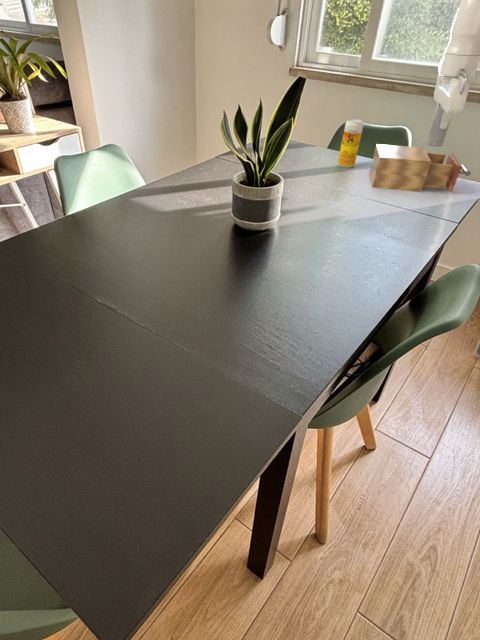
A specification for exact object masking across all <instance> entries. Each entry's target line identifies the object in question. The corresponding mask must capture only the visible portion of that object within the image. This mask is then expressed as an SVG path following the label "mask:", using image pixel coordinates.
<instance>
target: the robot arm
mask: <svg viewBox="0 0 480 640" xmlns="http://www.w3.org/2000/svg"><path fill="white" fill-rule="evenodd" d="M479 64H480V0H461V1H460V3H459V5H458V8H457V11H456V13H455V16H454V19H453V22H452V26H451V28H450V36H449V41H448V44H447V46H446V48H445V50H444V52H443V56H442V58H441V60H440V61H439V63H438V67H437V70H438V74H437V78H436V82H435V86H434V91H433V100H434V101H435V103H437V104H438V103H439V105H441V108H442V109H443V110H444V113H443V114H444V115H443V117H442V120H441V121H440V124H439V127H440V128H441V129H445V128H447V125H448V122H449V120H450V119H451V120H452V117H453V116H460V115H461V114H462V112H463V111H464V109H465V108H464V107H465V105H466V102H467V98H468V95H469V91H470V86H471V81H470V80H469V78H473V77H475V76H476V73H477V70H478V67H479Z"/></svg>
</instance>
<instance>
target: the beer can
mask: <svg viewBox="0 0 480 640" xmlns="http://www.w3.org/2000/svg"><path fill="white" fill-rule="evenodd" d="M363 129H364V121H363V120H362V119H358V118H349V119H347V120H346V122H345V125H344V131H343V135H342V140H341V144H340V149H339V155H338V160H337V164H338V166H339V167H341V168H346V169H351V168H353V167H354V166H355V164H356V160H357V156H358V151H359V147H360V142H361V139H362V134H363Z"/></svg>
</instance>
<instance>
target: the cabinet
mask: <svg viewBox="0 0 480 640" xmlns="http://www.w3.org/2000/svg"><path fill="white" fill-rule="evenodd" d="M427 153H428V152H427V150H426V149H425V147H418V146H405V145H393V144H379V143H376V145H375V149H374V153H373V157H372V160H371V164H370V169H369V178H370V183H371V188H375V189H386V190H398V191H408V192H420V193H422V190H423V188H424V187H423V185H424V182H425V179H426V176H427V173H428V170H429V167H430V164H431V160H430V158H429V156H428V154H427Z"/></svg>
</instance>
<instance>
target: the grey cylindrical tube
mask: <svg viewBox="0 0 480 640" xmlns="http://www.w3.org/2000/svg"><path fill="white" fill-rule="evenodd" d="M443 113H444V110H443V109H442V108H441V105H439V103H437V105H436V108H435V111H434V115H433V118H432V121H431V124H430V128H429V130H428V133H427V138H426V141H425V145H426V146H429V147H433V148H440V147H442V146H443V145H444V142H445V140H446V139H445V138H446V136H447V133H448V130H449V126H450V123H451V120H452V118H451V119H450V120H449V122H448V125H447V128H445V129H441V128H440V127H439V124H440V121H441V120H442V117H443V115H444V114H443Z"/></svg>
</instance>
